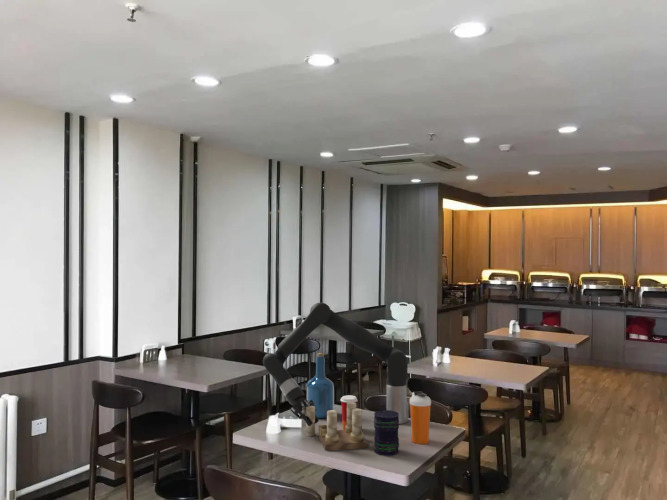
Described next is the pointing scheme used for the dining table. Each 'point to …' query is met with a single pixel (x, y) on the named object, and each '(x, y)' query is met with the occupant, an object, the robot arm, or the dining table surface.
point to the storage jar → (386, 432)
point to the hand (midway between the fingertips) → (314, 423)
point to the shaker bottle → (420, 417)
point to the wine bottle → (321, 389)
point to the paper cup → (344, 402)
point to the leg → (311, 414)
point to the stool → (343, 431)
